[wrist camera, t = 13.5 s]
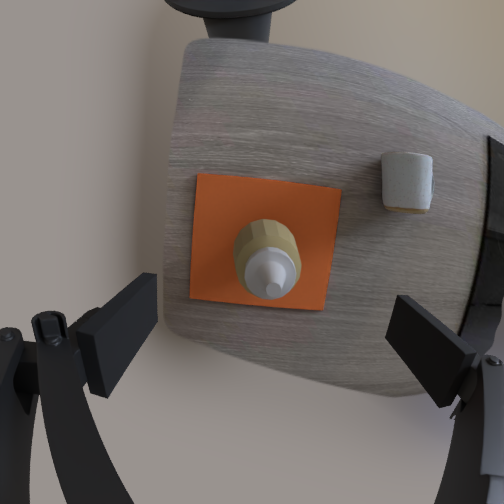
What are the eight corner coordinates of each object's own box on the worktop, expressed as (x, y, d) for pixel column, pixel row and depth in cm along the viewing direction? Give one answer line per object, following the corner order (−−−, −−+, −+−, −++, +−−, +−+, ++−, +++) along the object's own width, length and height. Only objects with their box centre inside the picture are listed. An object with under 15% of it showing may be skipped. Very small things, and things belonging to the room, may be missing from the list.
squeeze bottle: (282, 280, 40) (303, 345, 22) (227, 264, 40) (208, 320, 22) (300, 226, 38) (340, 255, 21) (244, 208, 38) (238, 222, 20)
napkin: (198, 173, 37) (197, 173, 37) (340, 189, 38) (341, 189, 37) (190, 297, 41) (189, 298, 41) (322, 309, 41) (322, 310, 41)
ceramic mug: (374, 209, 38) (399, 214, 31) (372, 154, 36) (397, 148, 29) (428, 210, 38) (458, 215, 31) (427, 160, 37) (457, 157, 29)
